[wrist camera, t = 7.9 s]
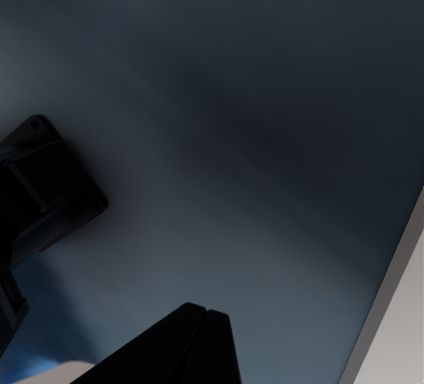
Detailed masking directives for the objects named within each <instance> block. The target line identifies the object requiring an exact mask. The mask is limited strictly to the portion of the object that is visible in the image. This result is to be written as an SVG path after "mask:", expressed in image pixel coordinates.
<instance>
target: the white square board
mask: <svg viewBox="0 0 424 384" xmlns="http://www.w3.org/2000/svg"><path fill="white" fill-rule="evenodd" d="M339 384H424V186H423V189H422V191H421V193H420V196H419V198H418V200H417V203H416V205H415V207H414V210H413V212H412V214H411V217H410V219H409V221H408V223H407V226H406V228H405V230H404V233H403V235H402V237H401V240H400V242H399V244H398V247H397V249H396V251H395V254H394V256H393V258H392V261H391V263H390V265H389V268H388V270H387V272H386V275H385V277H384V279H383V281H382V284H381V286H380V288H379V291H378V293H377V295H376V298H375V300H374V302H373V305H372V307H371V309H370V312H369V314H368V316H367V319H366V321H365V323H364V326H363V328H362V330H361V333H360V335H359V337H358V339H357V342H356V344H355V346H354V349H353V351H352V353H351V356H350V358H349V360H348V363H347V365H346V367H345V370H344V372H343V374H342V377H341V379H340V381H339Z"/></svg>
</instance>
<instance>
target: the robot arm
mask: <svg viewBox="0 0 424 384" xmlns="http://www.w3.org/2000/svg"><path fill="white" fill-rule="evenodd" d="M36 121H37V122H38V124H39V127H38V126H37V125H36ZM96 202H98V203H100V205H101V207H99V206H98V205H97V203H96ZM107 208H108V201H107V200H106V198H105V197H104V196H103V194H102V193H101V192H100V190H99V189H98V188H97V186H96V185H95V184H94V182H93V181H92V180H91V178H90V177H89V175H88V174H87V173H86V171H85V170H84V169H83V167H82V166H81V165H80V163H79V162H78V161H77V159H76V158H75V157H74V155H73V154H72V153H71V151H70V150H69V149H68V148H67V146H66V145H65V144H64V142H63V141H62V140H61V139H60V137H59V136H58V135H57V133H56V132H55V131H54V129H53V128H52V127H51V125H50V124H49V123H48V122H47V120H46V119H45V118H44V117H43V116H41V115H33V116H31V117H29V118H28V119H26V120H25V121H24V122H23V123H22V124H21V125H20V126H19V127H17V128H16V129H15V130H14V131H13V132H12V133H11V134H10V135H8V136H7V137H6V138H5V139H4V140H3V141H2V142H1V143H0V359H1V357H2V355H3V354H4V352H5V350H6V348H7V347H8V345H9V343H10V342H11V340H12V338H13V337H14V335H15V333H16V331H17V330H18V328H19V326H20V325H21V323H22V321H23V320H24V318H25V316H26V314H27V313H28V311H29V309H30V306H29V304H28V302H27V300H26V298H23V296H22V294H21V292H20V290H19V288H18V286H17V283H16V281H15V279H14V277H13V275H12V273H11V271H12V270H14V269H15V268H16V267H17V266H19V265H20V264H21V263H23V262H24V261H25V260H26V259H28V258H29V257H30V256H31V255H33V254H34V253H35V252H37V251H38V252H42V251H44V250H45V249H47V248H48V247H50V246H52V245H53V244H55V243H56V242H58V241H59V240H61V239H62V238H64V237H66V236H67V235H69V234H70V233H72V232H73V231H75V230H76V229H78V228H80V227H81V226H83V225H84V224H86V223H87V222H89V221H90V220H92V219H94V218H95V217H97V216H98V215H100V214H101V213H103V212H104V211H105V210H106V209H107ZM70 384H242V381H241V375H240V370H239V365H238V359H237V354H236V349H235V344H234V338H233V333H232V328H231V323H230V318H229V316H228V315H227V314H225V313H222V312H219V311H216V310H212V309H209V310H208V311H207V310H206V308H205V307H203V306H200V305H197V304H193V303H190V302H186V303H184V304H183V305H181V306H180V307H178V308H177V309H175V310H174V311H173V312H171V313H170V314H168V315H167V316H165V317H164V318H163V319H161V320H160V321H158V322H157V323H155V324H154V325H153V326H151V327H150V328H148V329H147V330H145V331H144V332H143V333H141V334H140V335H138V336H137V337H135V338H134V339H133V340H131V341H130V342H128V343H127V344H125V345H124V346H123V347H121V348H120V349H118V350H117V351H115V352H114V353H113V354H111V355H110V356H108V357H107V358H105V359H104V360H103V361H101V362H100V363H98V364H97V365H95V366H94V367H93V368H91V369H90V370H88V371H87V372H85V373H84V374H83V375H81V376H80V377H78V378H77V379H76V380H74V381H73V382H71V383H70Z"/></svg>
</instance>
